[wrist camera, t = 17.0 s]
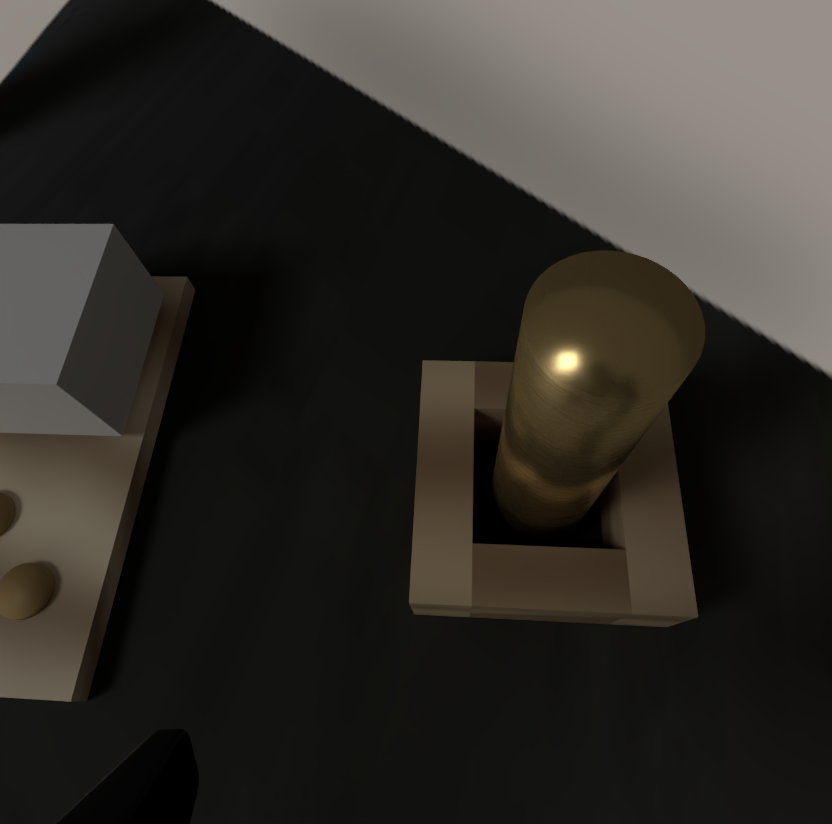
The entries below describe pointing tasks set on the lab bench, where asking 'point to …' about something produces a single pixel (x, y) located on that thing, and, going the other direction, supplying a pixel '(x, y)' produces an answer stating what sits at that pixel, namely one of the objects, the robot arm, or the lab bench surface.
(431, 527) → the socket block
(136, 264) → the cover
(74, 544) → the plate
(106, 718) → the lab bench surface
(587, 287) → the brass pin
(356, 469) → the lab bench surface
